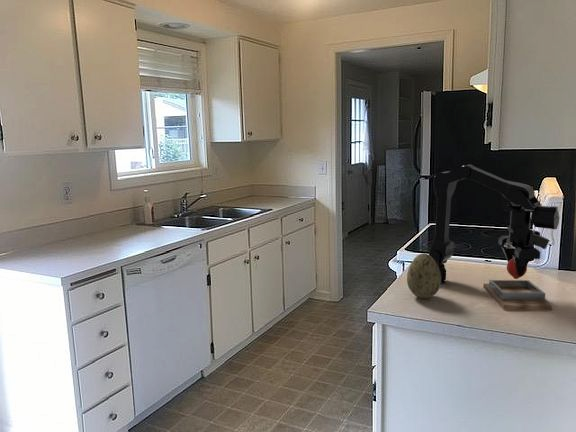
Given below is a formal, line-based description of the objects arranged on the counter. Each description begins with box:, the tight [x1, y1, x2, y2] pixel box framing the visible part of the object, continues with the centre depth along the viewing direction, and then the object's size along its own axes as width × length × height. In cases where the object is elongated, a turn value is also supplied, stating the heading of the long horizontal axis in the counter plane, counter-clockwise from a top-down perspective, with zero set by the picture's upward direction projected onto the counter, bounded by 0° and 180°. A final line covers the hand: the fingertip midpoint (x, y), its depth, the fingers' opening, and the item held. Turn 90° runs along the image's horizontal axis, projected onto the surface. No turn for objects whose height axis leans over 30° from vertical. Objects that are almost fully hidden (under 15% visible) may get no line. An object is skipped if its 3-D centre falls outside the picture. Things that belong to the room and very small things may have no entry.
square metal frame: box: [488, 279, 546, 301], centre depth 151 cm, size 13×13×2 cm
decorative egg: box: [406, 252, 442, 299], centre depth 153 cm, size 11×11×15 cm
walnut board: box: [482, 283, 553, 311], centre depth 151 cm, size 14×20×2 cm
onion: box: [506, 258, 528, 280], centre depth 149 cm, size 6×6×8 cm
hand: (516, 272), depth 150 cm, fingers closed on onion, 6 cm apart
